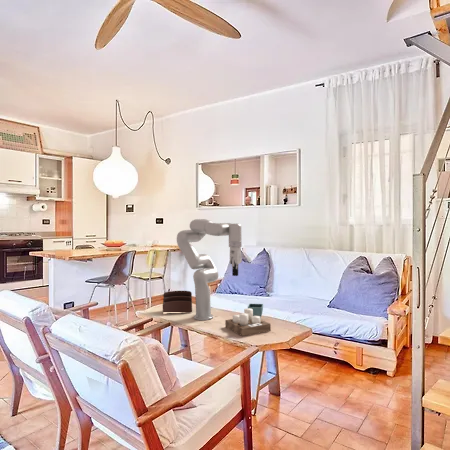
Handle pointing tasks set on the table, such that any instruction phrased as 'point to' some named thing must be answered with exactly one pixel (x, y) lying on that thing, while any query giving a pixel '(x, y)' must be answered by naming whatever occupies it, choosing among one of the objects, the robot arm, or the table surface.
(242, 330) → the board
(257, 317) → the button
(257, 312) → the flower pot
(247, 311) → the button
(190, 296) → the letter holder
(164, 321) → the table surface
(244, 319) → the button
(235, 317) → the button
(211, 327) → the table surface
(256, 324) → the card
